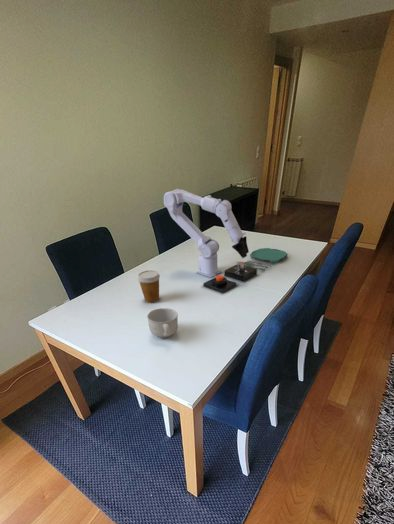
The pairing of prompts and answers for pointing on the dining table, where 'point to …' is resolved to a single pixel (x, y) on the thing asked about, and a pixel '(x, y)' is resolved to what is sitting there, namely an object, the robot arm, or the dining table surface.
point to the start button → (219, 278)
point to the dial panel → (240, 273)
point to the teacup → (163, 322)
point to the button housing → (219, 285)
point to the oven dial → (240, 266)
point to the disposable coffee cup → (149, 285)
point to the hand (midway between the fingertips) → (245, 255)
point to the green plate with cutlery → (266, 257)
